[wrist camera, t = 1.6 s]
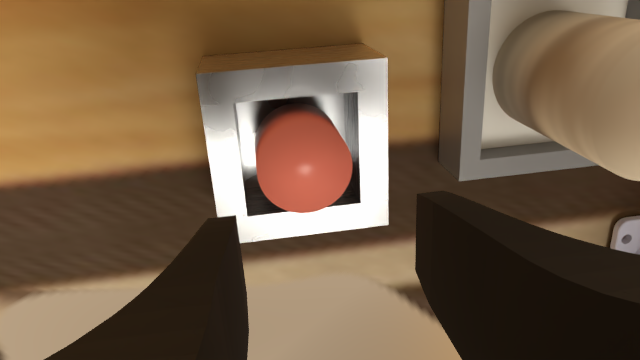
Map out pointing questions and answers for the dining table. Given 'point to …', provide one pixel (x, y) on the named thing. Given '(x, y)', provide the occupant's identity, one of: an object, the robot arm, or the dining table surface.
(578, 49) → the cylinder
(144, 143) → the dining table surface
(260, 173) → the button
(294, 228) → the button housing
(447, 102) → the shallow grey tray
